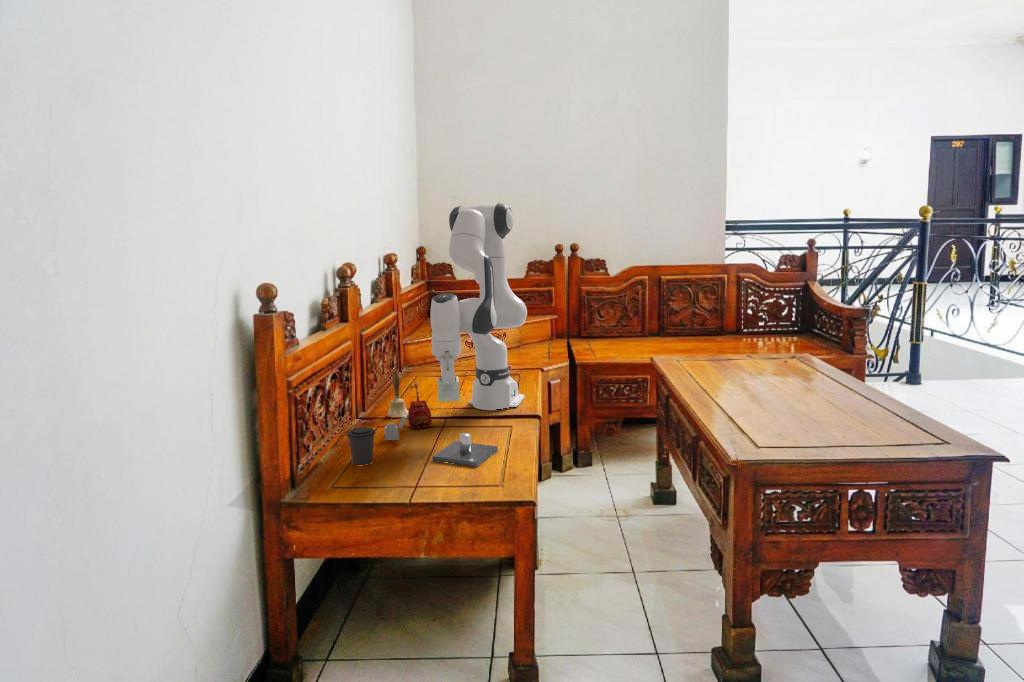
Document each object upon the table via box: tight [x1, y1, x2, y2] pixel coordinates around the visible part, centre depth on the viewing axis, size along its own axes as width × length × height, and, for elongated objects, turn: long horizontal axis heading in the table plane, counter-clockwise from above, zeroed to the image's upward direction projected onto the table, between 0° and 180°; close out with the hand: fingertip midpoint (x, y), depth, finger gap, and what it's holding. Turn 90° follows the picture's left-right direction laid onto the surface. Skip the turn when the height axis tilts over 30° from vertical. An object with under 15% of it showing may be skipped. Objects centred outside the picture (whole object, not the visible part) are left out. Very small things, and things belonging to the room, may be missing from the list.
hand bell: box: [386, 369, 409, 417], centre depth 249 cm, size 8×8×16 cm
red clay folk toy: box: [407, 380, 432, 430], centre depth 235 cm, size 8×7×15 cm
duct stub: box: [431, 432, 499, 468], centre depth 208 cm, size 14×14×6 cm
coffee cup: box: [346, 426, 376, 466], centre depth 204 cm, size 8×8×10 cm
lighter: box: [384, 414, 408, 441], centre depth 223 cm, size 7×2×8 cm, turn 92°
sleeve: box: [436, 375, 461, 403], centre depth 220 cm, size 6×6×6 cm
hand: (448, 392), depth 220 cm, fingers closed on sleeve, 6 cm apart
